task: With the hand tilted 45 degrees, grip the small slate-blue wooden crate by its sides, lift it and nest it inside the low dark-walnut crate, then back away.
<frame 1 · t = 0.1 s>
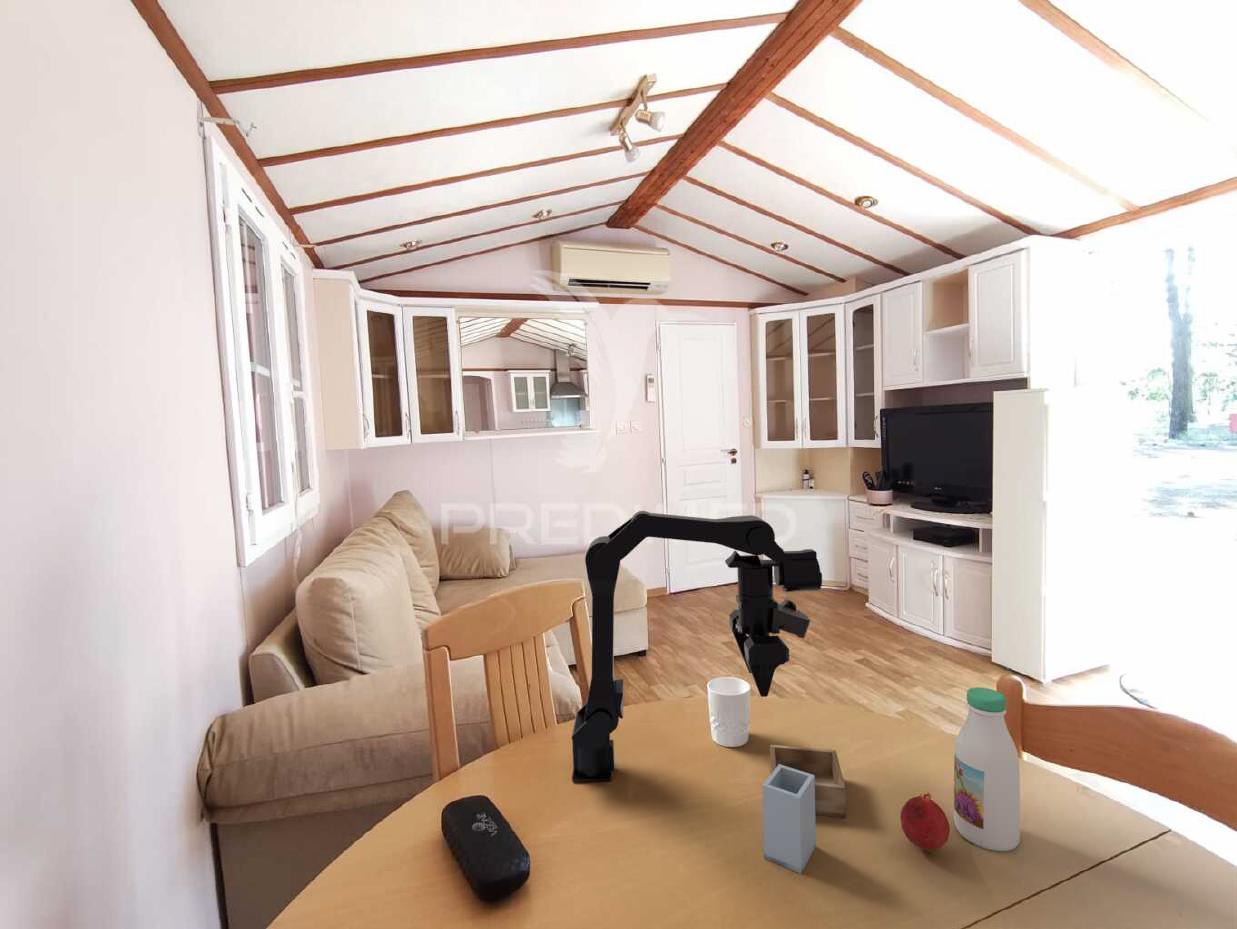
hand: (757, 684, 98), 15 cm above the table, tool pointing down, fingers open, 9 cm apart
white cup: (729, 739, 109), on the table
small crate: (790, 852, 79), on the table
milk bottle: (986, 835, 81), on the table
big crate: (805, 792, 92), on the table
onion: (924, 851, 78), on the table
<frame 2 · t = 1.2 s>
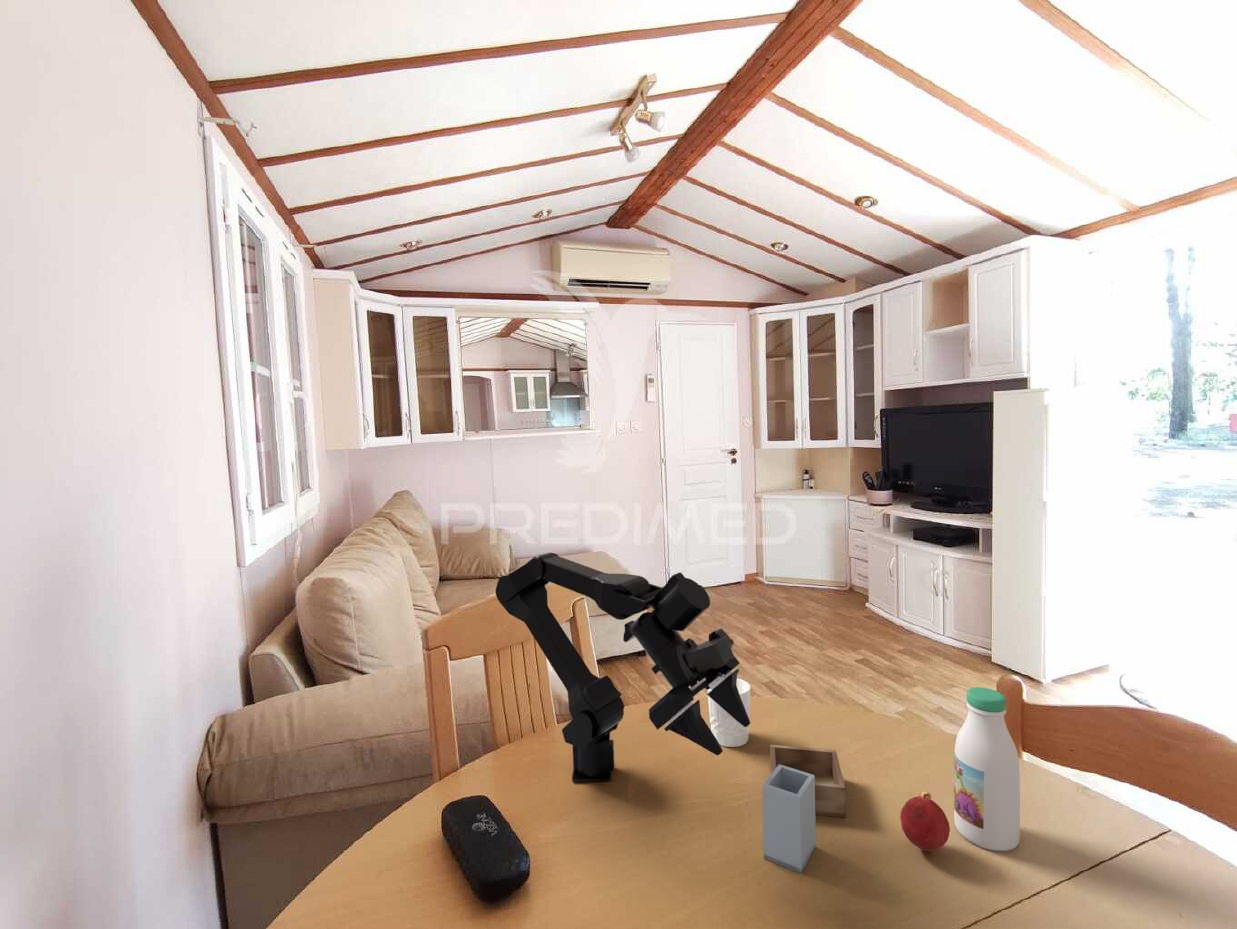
hand: (734, 738, 83), 13 cm above the table, tool tilted 45°, fingers open, 9 cm apart
nothing on the table moved.
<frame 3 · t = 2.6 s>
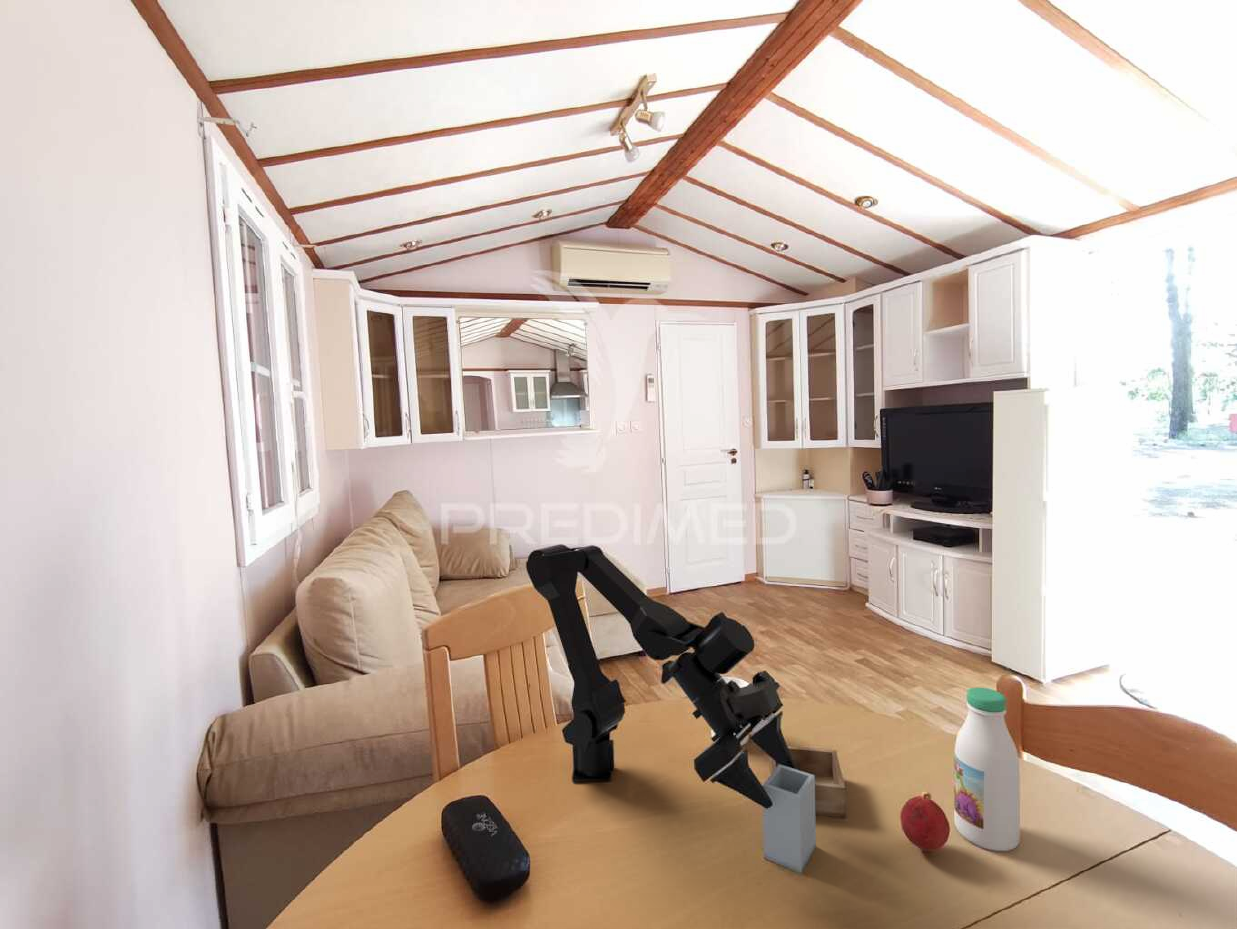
hand: (783, 788, 79), 9 cm above the table, tool tilted 45°, fingers open, 9 cm apart
nothing on the table moved.
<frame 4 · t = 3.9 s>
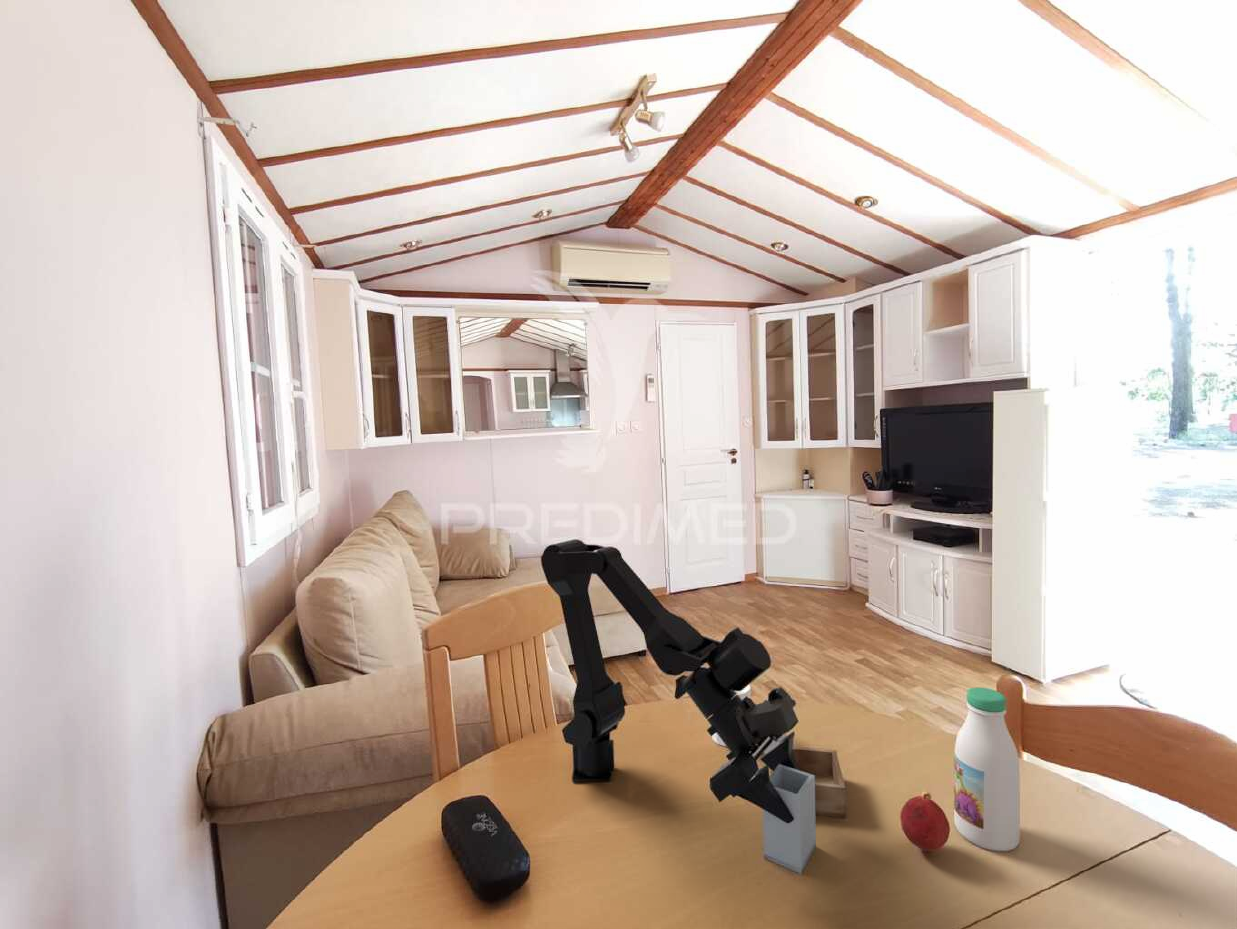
hand: (799, 808, 78), 7 cm above the table, tool tilted 45°, fingers closed on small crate, 6 cm apart
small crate: (790, 852, 79), on the table, touching gripper
everything else where it was.
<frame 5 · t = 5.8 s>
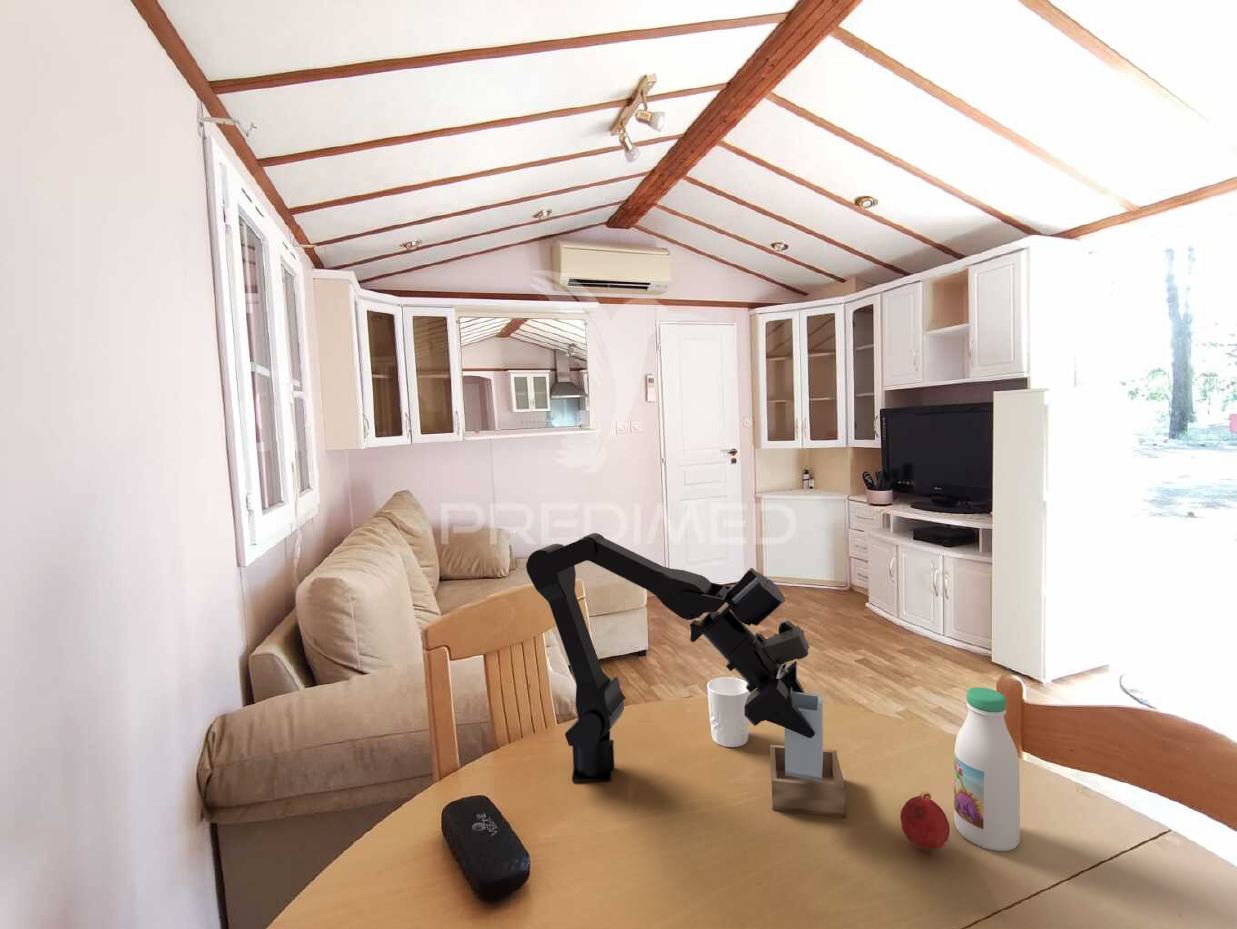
hand: (813, 725, 86), 13 cm above the table, tool tilted 45°, fingers closed on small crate, 6 cm apart
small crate: (804, 767, 87), point 7 cm above the table, touching gripper
everything else where it was.
when the fingers open (9 cm above the table, at t = 7.8 s): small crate drops 1 cm, resting on big crate.
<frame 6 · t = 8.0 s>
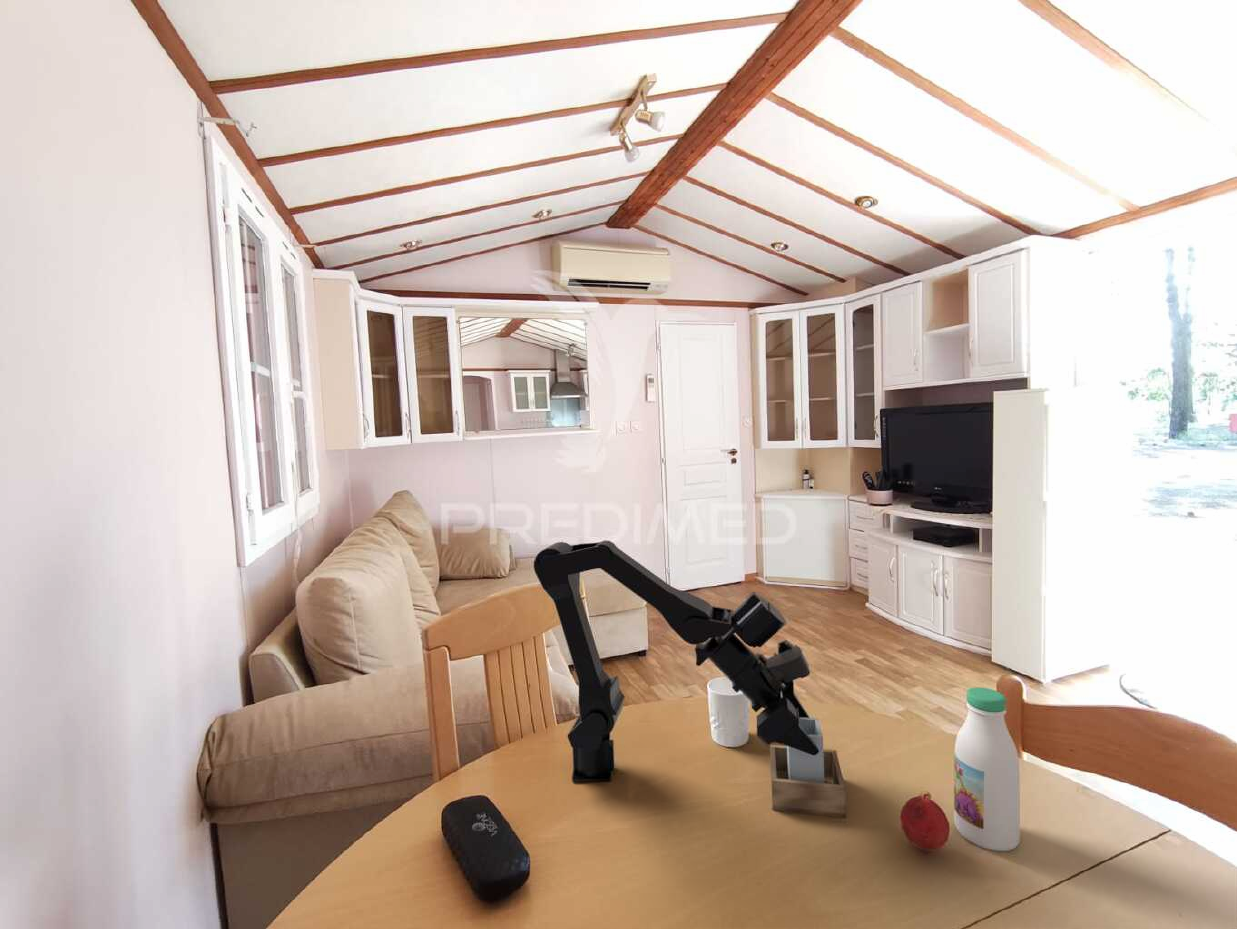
hand: (814, 739, 91), 9 cm above the table, tool tilted 45°, fingers open, 8 cm apart
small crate: (805, 788, 92), point 1 cm above the table, touching big crate
everything else where it was.
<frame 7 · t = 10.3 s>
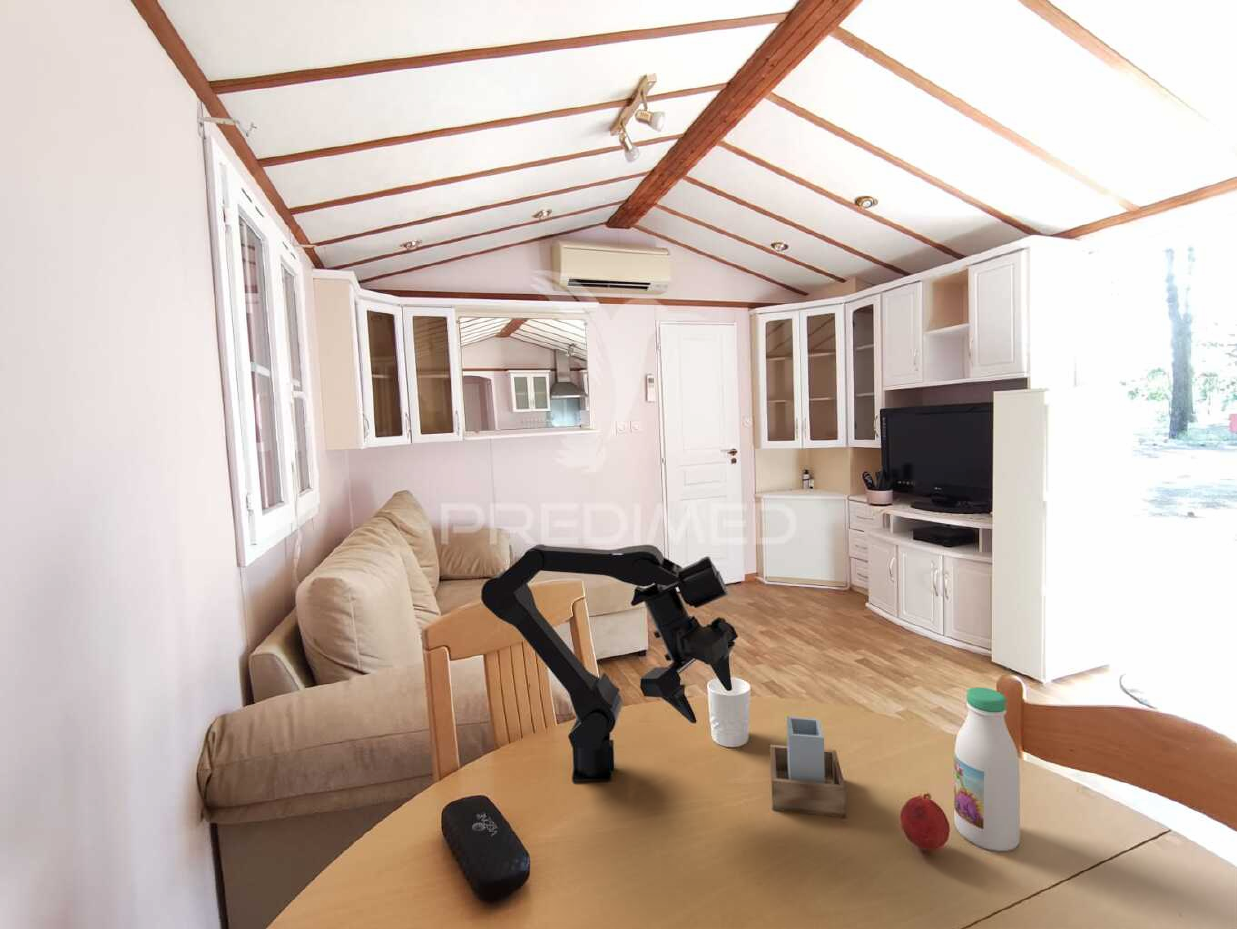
hand: (712, 706, 95), 13 cm above the table, tool tilted 25°, fingers open, 9 cm apart
nothing on the table moved.
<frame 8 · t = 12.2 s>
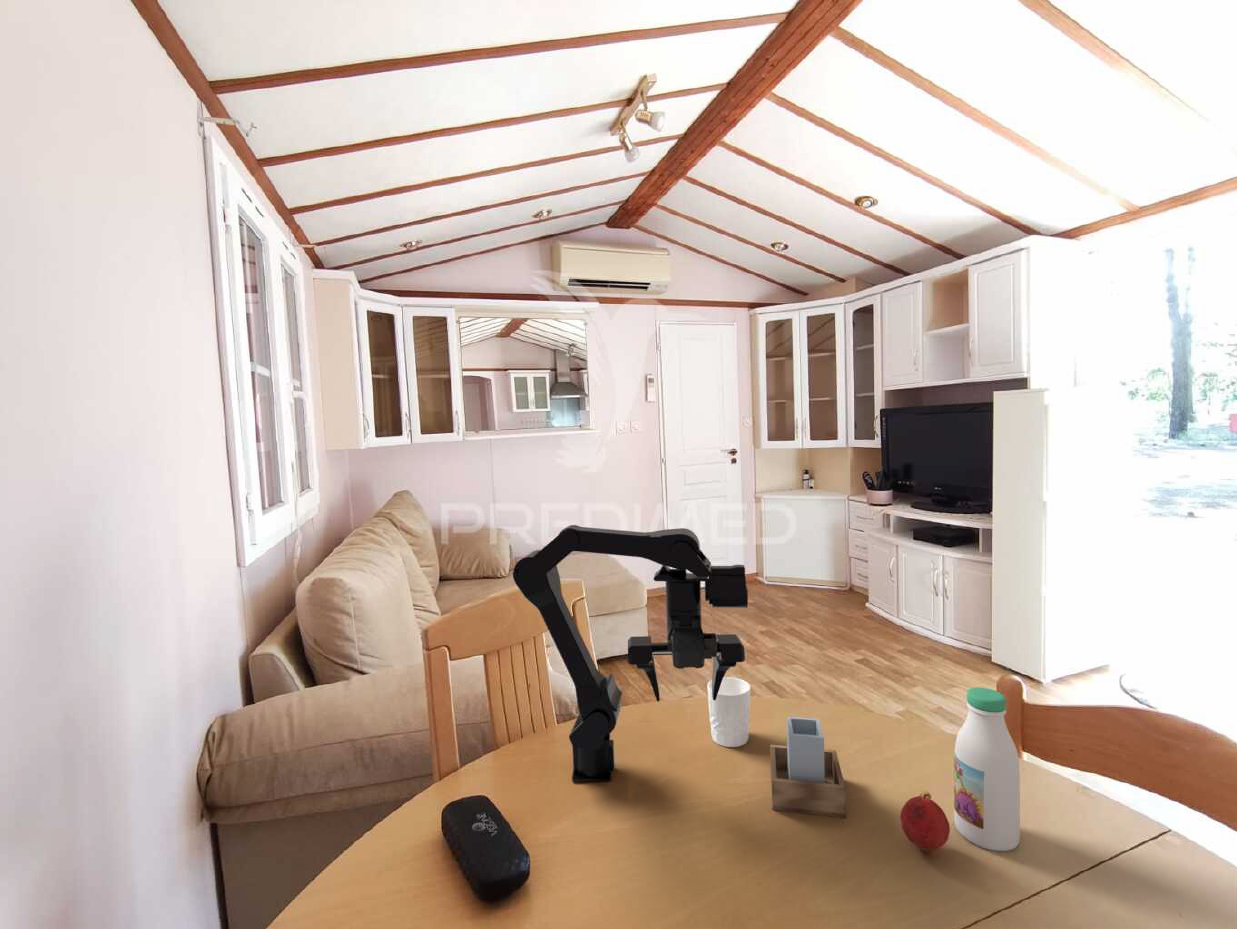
hand: (686, 699, 96), 13 cm above the table, tool pointing down, fingers open, 9 cm apart
nothing on the table moved.
at the end: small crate 0.0 cm off-centre on the big crate, point 0.6 cm above the big crate's base; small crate tilted 0°; the gripper is holding nothing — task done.
